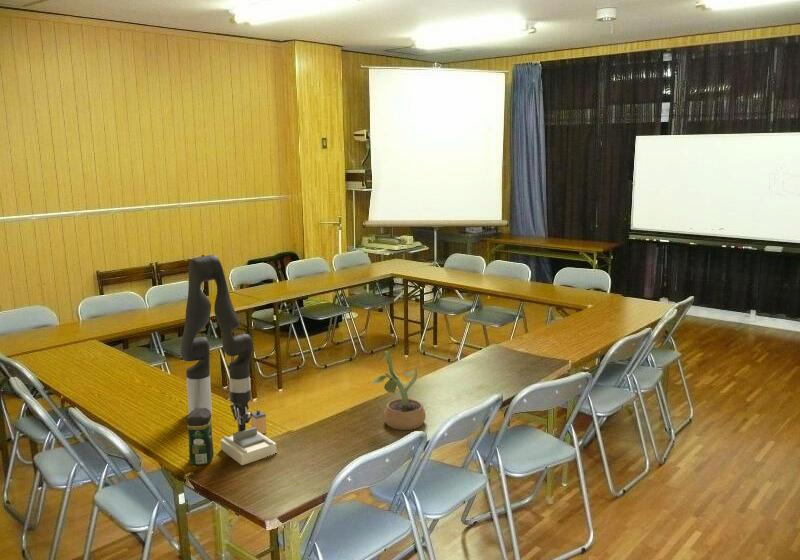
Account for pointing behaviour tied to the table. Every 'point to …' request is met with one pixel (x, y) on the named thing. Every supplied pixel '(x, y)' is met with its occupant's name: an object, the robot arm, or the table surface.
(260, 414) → the plug
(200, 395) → the robot arm
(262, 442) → the socket
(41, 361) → the table surface
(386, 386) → the potted plant
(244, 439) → the shutter
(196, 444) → the coffee jar
